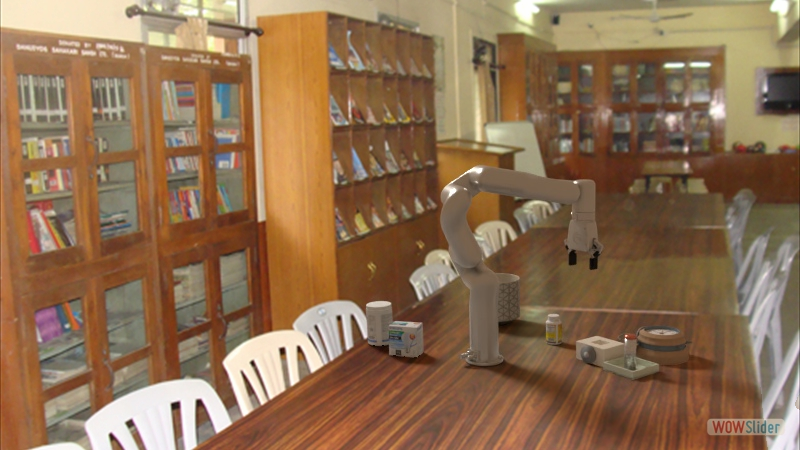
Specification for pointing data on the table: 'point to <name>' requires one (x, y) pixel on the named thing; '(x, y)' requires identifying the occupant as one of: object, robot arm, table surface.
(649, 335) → the alarm clock
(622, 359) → the tray
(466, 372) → the table surface
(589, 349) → the block
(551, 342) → the supplement bottle
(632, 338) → the pin
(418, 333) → the light bulb box
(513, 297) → the planter
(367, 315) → the supplement tub
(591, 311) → the table surface
